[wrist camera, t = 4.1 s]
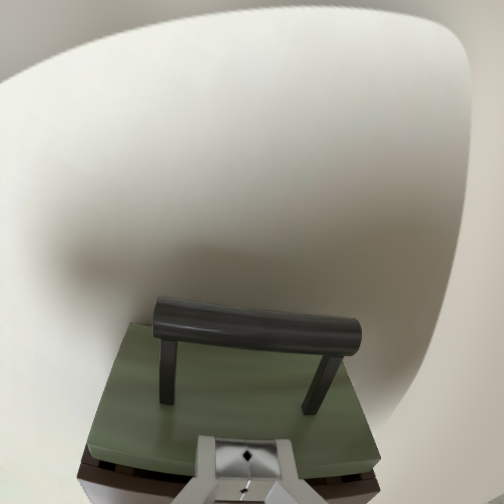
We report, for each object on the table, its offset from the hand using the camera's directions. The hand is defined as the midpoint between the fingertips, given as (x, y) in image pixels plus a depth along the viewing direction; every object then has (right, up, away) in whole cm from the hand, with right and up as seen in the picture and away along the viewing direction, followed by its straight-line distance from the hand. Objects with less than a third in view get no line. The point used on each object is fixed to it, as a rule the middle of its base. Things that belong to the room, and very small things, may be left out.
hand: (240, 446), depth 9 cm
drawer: (-1, -2, +9) cm, 9 cm away
